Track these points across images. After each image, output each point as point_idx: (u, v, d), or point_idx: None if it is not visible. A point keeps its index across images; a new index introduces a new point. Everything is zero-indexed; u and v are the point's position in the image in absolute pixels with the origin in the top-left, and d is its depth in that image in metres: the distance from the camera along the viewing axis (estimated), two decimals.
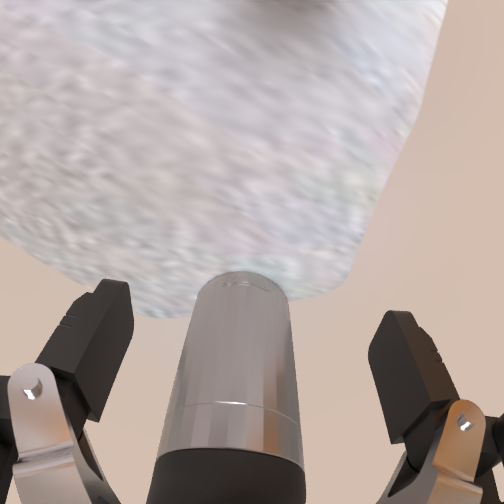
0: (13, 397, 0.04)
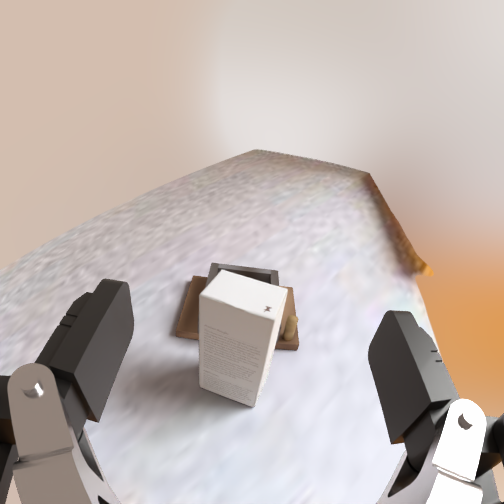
0: (13, 397, 0.04)
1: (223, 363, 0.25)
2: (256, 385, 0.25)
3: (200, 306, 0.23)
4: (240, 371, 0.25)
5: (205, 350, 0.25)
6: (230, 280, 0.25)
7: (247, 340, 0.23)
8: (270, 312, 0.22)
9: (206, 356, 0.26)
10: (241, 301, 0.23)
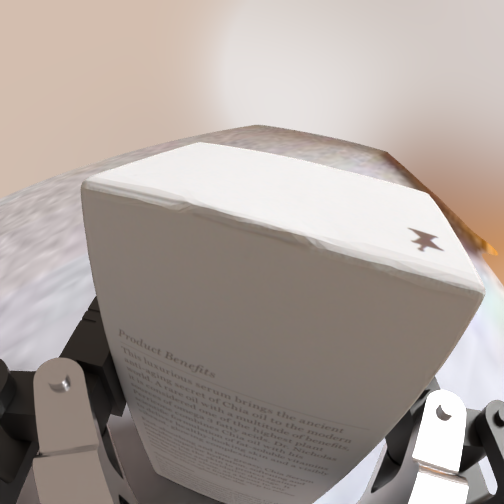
0: (40, 392, 0.05)
1: (204, 453, 0.07)
2: (305, 500, 0.07)
3: (89, 245, 0.05)
4: (260, 476, 0.07)
5: (145, 413, 0.07)
6: (224, 154, 0.06)
7: (307, 405, 0.05)
8: (448, 255, 0.03)
9: (152, 427, 0.07)
10: (283, 202, 0.04)
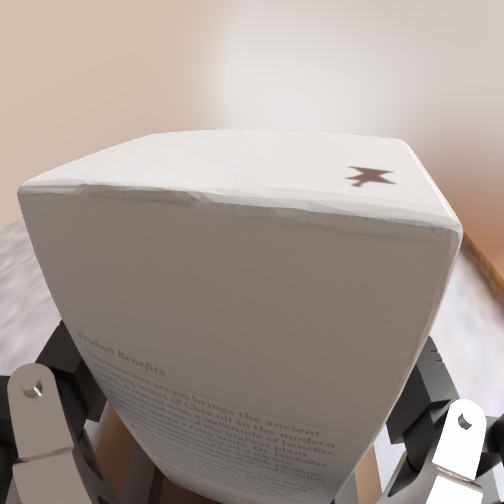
0: (13, 397, 0.04)
1: (196, 459, 0.06)
2: None
3: (34, 249, 0.04)
4: (258, 482, 0.06)
5: (131, 420, 0.06)
6: (165, 138, 0.06)
7: (266, 406, 0.04)
8: (403, 188, 0.03)
9: (143, 434, 0.07)
10: (188, 165, 0.03)
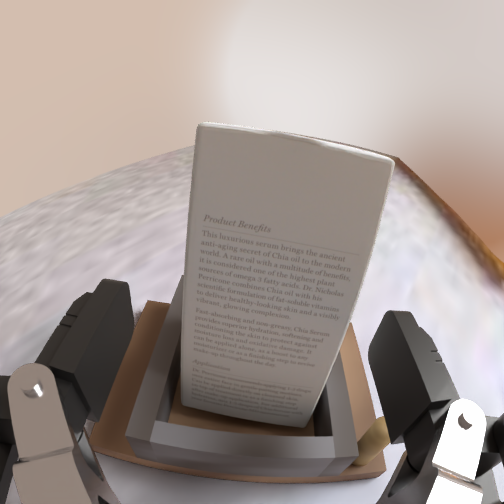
0: (13, 397, 0.04)
1: (246, 329, 0.11)
2: (322, 371, 0.11)
3: (197, 159, 0.09)
4: (289, 342, 0.11)
5: (201, 301, 0.11)
6: None
7: (323, 239, 0.09)
8: (375, 153, 0.09)
9: (203, 317, 0.11)
10: None
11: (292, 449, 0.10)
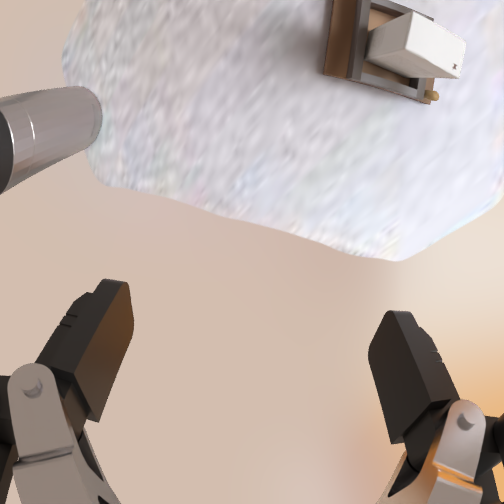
0: (13, 397, 0.04)
1: (397, 64, 0.24)
2: (417, 76, 0.26)
3: (400, 50, 0.19)
4: (410, 70, 0.25)
5: (386, 57, 0.23)
6: (424, 29, 0.17)
7: (429, 71, 0.21)
8: (456, 70, 0.18)
9: (384, 58, 0.24)
10: (436, 57, 0.18)
11: (404, 90, 0.28)
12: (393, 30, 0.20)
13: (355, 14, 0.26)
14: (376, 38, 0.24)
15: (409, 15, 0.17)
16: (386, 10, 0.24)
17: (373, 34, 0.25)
